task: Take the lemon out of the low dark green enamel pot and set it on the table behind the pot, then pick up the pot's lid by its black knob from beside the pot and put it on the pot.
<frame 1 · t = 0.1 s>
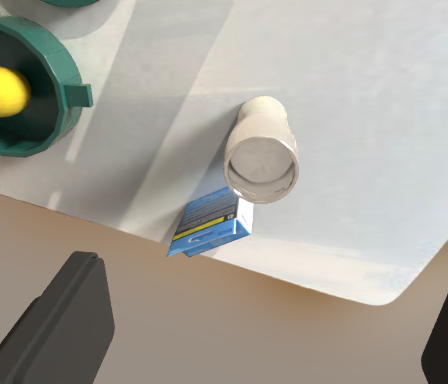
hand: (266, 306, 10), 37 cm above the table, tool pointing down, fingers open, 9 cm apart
pot: (23, 83, 46), on the table
beer glass: (262, 119, 45), on the table
lemon: (23, 83, 46), resting on pot
label tape box: (219, 201, 52), on the table
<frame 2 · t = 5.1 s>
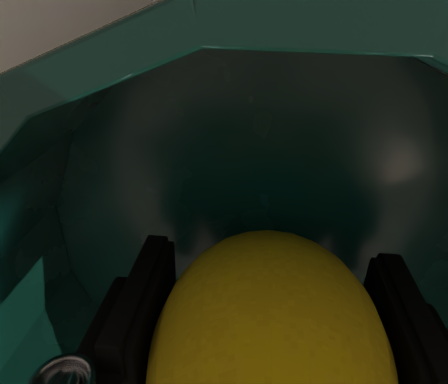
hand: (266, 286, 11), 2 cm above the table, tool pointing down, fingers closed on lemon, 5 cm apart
pot: (267, 249, 13), on the table
lemon: (267, 251, 12), resting on pot, touching gripper
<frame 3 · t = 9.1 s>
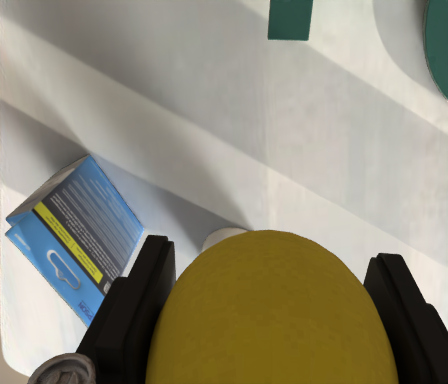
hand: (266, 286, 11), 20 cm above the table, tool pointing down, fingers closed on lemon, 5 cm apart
beer glass: (233, 251, 36), on the table
lemon: (267, 251, 12), point 18 cm above the table, touching gripper
label tape box: (105, 198, 34), on the table
when the fingers open (1 cm above the table, at t = 13.5 s): lemon stays where it is, on the table.
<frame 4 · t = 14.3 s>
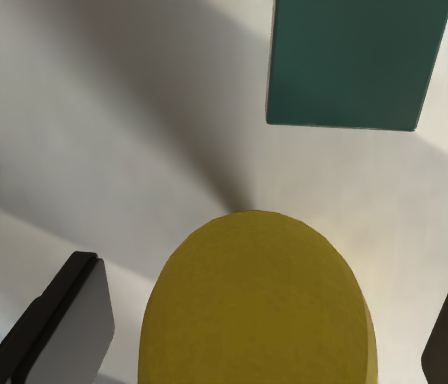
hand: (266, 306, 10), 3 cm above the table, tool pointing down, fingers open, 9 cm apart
lemon: (257, 234, 13), on the table
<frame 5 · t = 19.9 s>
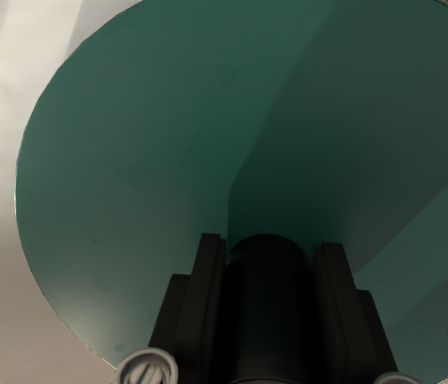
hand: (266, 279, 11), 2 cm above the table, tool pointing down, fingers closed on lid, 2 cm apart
lid: (266, 256, 12), point 1 cm above the table, touching gripper
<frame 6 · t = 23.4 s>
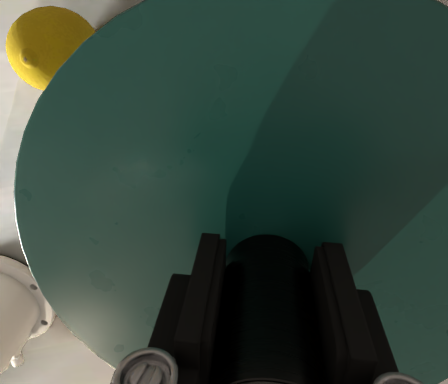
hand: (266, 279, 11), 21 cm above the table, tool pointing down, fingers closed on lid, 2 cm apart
lid: (266, 257, 12), point 20 cm above the table, touching gripper
lemon: (83, 43, 29), on the table
when the fingers open (6 cm above the table, at t = 27.2 s): lid stays where it is, resting on pot.
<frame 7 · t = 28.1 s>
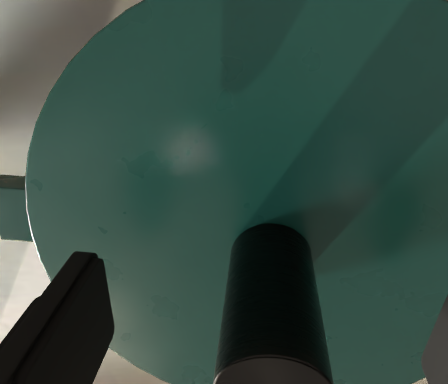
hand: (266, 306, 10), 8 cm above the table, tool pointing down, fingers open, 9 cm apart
pot: (268, 178, 17), on the table
lid: (270, 246, 12), point 5 cm above the table, touching pot
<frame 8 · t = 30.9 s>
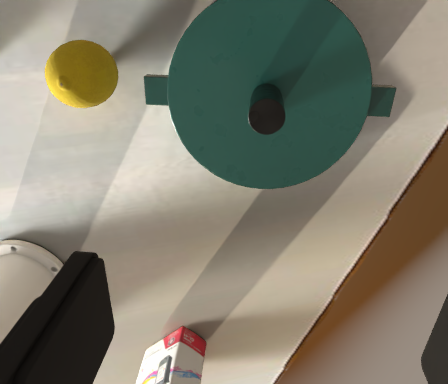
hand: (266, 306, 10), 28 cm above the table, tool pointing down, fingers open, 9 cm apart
pot: (265, 84, 35), on the table
lid: (266, 98, 30), point 5 cm above the table, touching pot
ink box: (177, 344, 54), on the table
lemon: (102, 66, 36), on the table
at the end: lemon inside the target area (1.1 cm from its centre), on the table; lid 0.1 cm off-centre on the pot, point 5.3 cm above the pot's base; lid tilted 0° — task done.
